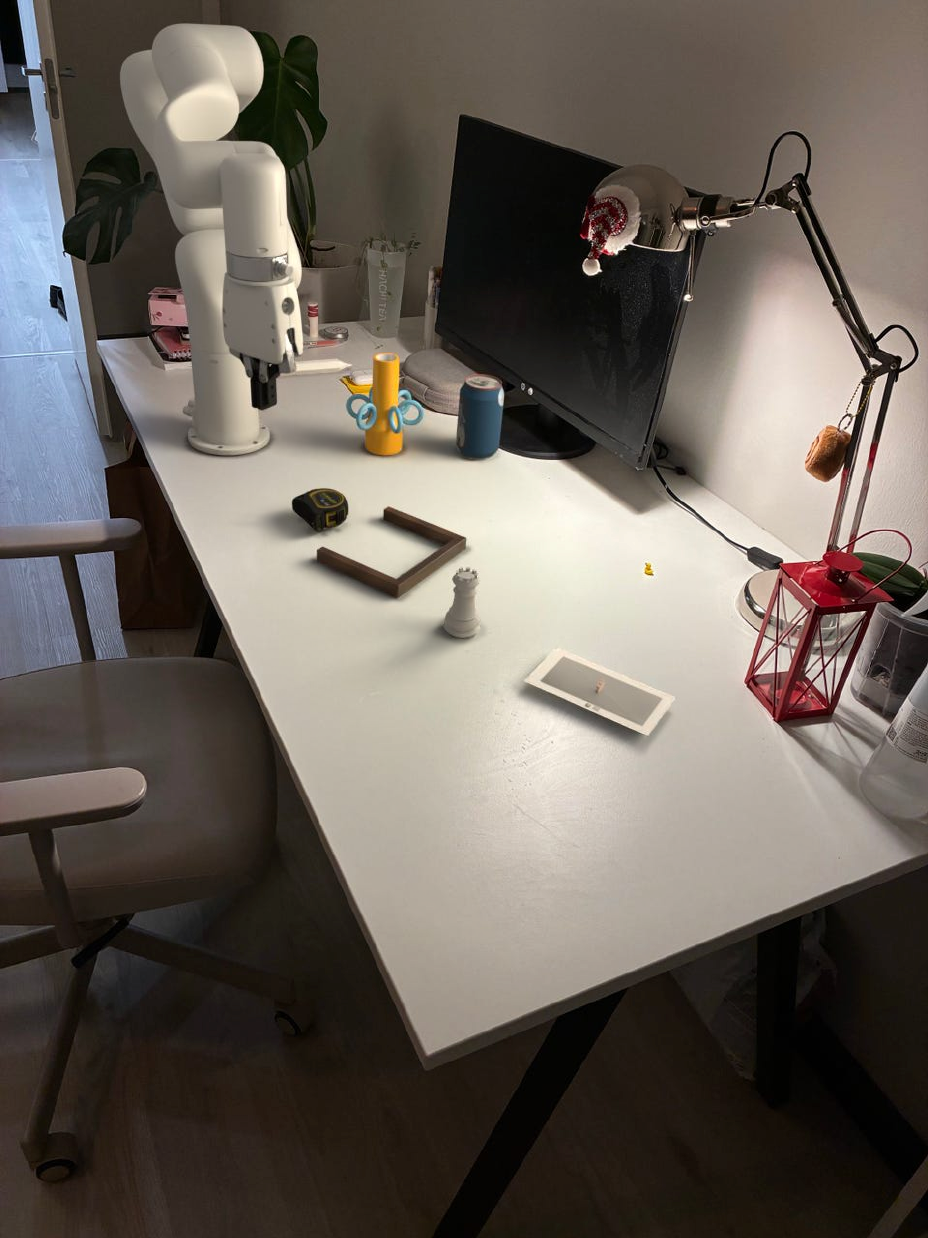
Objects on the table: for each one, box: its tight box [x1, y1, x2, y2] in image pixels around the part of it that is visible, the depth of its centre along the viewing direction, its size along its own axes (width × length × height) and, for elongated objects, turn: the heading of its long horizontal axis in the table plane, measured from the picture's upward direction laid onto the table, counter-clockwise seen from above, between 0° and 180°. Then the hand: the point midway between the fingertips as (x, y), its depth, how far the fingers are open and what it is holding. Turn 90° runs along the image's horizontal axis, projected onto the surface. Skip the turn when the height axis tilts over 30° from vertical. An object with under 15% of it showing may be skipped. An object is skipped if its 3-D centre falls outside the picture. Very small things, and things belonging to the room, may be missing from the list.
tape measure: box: [291, 487, 349, 533], centre depth 133 cm, size 7×7×4 cm
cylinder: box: [345, 352, 425, 456], centre depth 150 cm, size 12×10×15 cm
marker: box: [270, 358, 353, 378], centre depth 177 cm, size 3×2×16 cm
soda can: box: [455, 373, 505, 461], centre depth 153 cm, size 7×7×12 cm
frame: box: [316, 505, 467, 598], centre depth 128 cm, size 13×15×2 cm
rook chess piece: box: [443, 566, 481, 639], centre depth 114 cm, size 4×4×8 cm
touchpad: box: [523, 646, 677, 737], centre depth 107 cm, size 8×15×2 cm, turn 58°
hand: (264, 405), depth 129 cm, fingers closed
